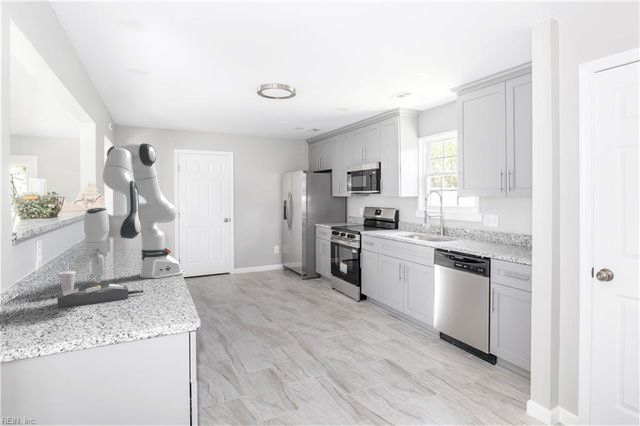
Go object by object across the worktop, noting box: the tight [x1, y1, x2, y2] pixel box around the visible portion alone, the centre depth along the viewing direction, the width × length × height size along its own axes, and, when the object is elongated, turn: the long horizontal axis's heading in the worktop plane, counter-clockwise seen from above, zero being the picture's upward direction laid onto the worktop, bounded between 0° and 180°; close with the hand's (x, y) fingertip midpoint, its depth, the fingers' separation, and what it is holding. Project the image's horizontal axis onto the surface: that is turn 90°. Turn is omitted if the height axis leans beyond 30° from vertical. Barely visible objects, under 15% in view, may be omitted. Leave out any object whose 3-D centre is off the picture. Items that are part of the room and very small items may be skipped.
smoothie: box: [57, 262, 77, 293], centre depth 159 cm, size 6×6×14 cm
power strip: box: [56, 285, 144, 309], centre depth 151 cm, size 30×7×4 cm, turn 121°
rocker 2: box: [85, 285, 102, 293], centre depth 148 cm, size 5×3×1 cm, turn 120°
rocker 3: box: [108, 283, 124, 289], centre depth 152 cm, size 5×3×1 cm, turn 122°
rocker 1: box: [63, 287, 80, 296], centre depth 144 cm, size 5×3×1 cm, turn 121°
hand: (98, 282), depth 149 cm, fingers closed
